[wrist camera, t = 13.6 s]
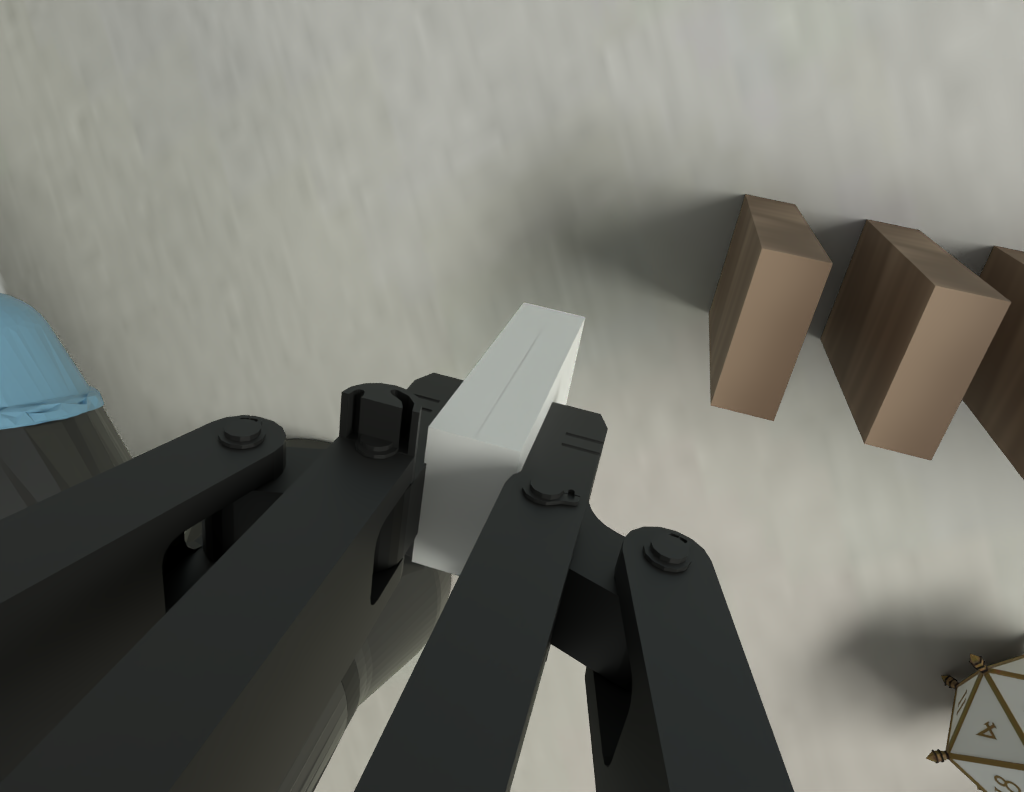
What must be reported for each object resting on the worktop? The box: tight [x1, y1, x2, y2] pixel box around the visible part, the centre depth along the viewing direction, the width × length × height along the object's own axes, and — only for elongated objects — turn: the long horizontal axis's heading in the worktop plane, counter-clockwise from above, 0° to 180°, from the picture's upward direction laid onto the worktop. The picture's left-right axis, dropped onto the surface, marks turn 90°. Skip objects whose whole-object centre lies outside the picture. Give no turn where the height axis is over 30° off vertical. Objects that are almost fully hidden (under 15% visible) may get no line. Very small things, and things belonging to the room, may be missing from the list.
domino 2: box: [821, 219, 1011, 460], centre depth 25 cm, size 2×5×10 cm, turn 170°
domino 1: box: [709, 194, 833, 421], centre depth 26 cm, size 2×5×10 cm, turn 171°
